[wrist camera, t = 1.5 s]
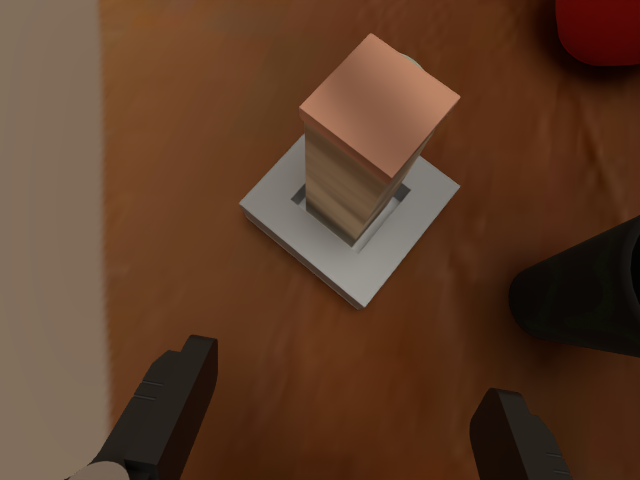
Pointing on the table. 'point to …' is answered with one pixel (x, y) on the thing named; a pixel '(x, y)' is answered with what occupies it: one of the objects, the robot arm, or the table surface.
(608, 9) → the ceramic cup
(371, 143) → the plug
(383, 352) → the table surface
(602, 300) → the cup
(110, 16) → the table surface
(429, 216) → the socket block
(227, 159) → the table surface
